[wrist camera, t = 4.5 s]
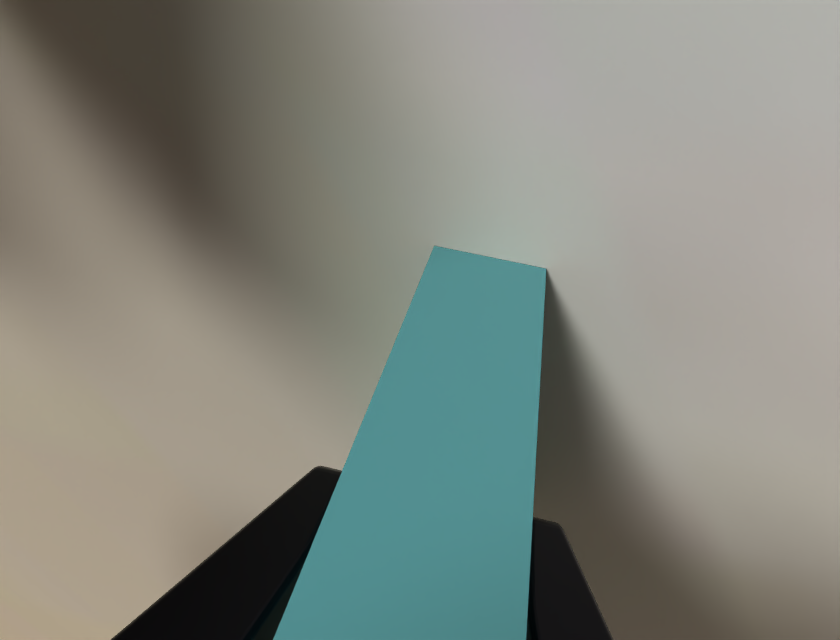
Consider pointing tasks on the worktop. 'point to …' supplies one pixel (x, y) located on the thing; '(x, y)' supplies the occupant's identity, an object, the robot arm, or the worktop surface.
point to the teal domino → (438, 471)
